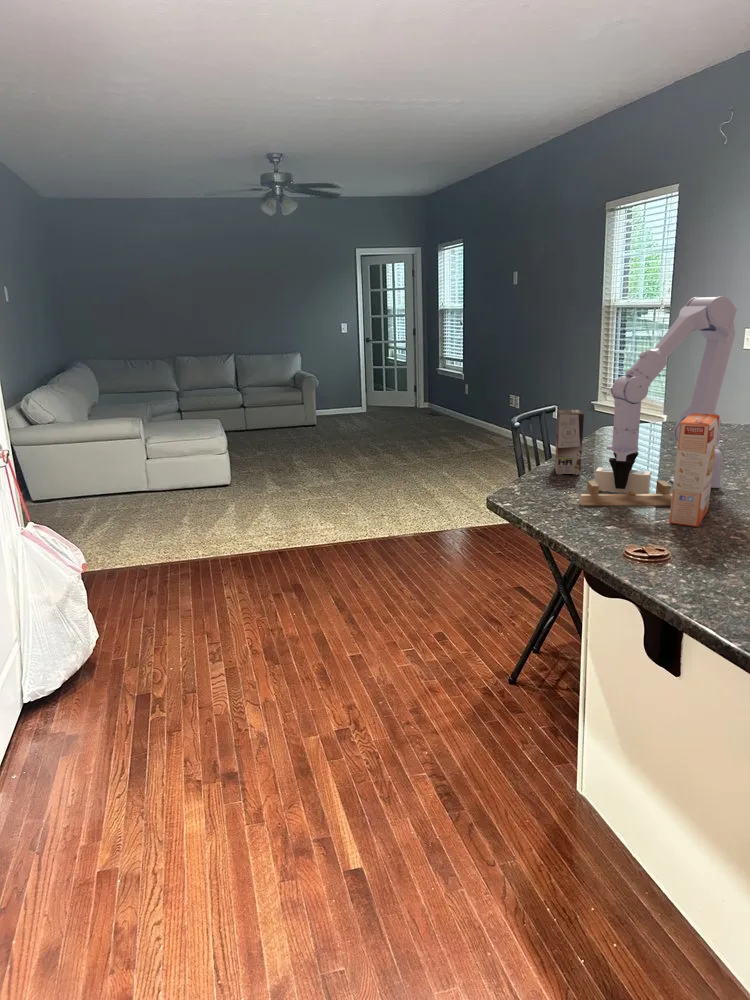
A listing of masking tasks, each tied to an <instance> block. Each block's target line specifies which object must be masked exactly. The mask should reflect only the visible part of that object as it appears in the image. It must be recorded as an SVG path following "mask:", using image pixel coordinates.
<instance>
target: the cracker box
mask: <svg viewBox="0 0 750 1000" xmlns="http://www.w3.org/2000/svg"><path fill="white" fill-rule="evenodd" d="M716 414H717V413H716ZM716 414H699V413H691V414H690V415H689V416H687V417H686V418H685V419H684V420H683V421H681V422H680V427H679V435H678V442H677V447H676V456H675V457H676V458H675V466H674V476H673V478H674V483H673V482H672V484H673V485H672V493H671V494H672V501H671V505H670V513H669V524H674V525H680V526H686V527H687V526H688V527H695V528H699V526H700V524H701V522H702V521H703V519H704V517H705V515H706V514H708V513H707V512H708V511H709V506H710V505H709V503H710V496H711V490H712V488H711V482H712V474H713V465H714V457H715V449H717V447H716V446H717V445H716V441H717V433H718V425H719V418H720V415H719V414H717V415H716Z"/></svg>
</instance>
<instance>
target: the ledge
mask: <svg viewBox="0 0 750 1000" xmlns="http://www.w3.org/2000/svg"><path fill="white" fill-rule="evenodd" d="M586 483H587V485H586V493H580V496H579V504H580V506H671V501H672V493H671V487H672V486H671V485H670V484H669V483H668V482H666V481H665V480H656V486H655V487H656V488H655V493H648V494H636V492H634V491H629V492H628V493H599V492H600V491H599V485H598V484H597V483H596V482H595V480H587V482H586Z"/></svg>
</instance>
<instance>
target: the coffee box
mask: <svg viewBox="0 0 750 1000" xmlns="http://www.w3.org/2000/svg"><path fill="white" fill-rule="evenodd" d="M584 419H585V413H584V412H583V410H582V409H581V408H580V409H579V408H578V409H576V408H575V409H573V408H572V409H557V411H556V433H555V435H556V436H555V456H554V458H555V459H554V469H555V473H556V475H562V474H574V475H573V476H581V468H582V467H581V466H582V452H583V436H584V435H583V434H584V422H585V421H584ZM575 474H576V475H575ZM578 474H579V475H578Z"/></svg>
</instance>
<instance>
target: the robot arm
mask: <svg viewBox="0 0 750 1000" xmlns="http://www.w3.org/2000/svg"><path fill="white" fill-rule="evenodd" d="M737 310H738V309H737V307H736V306H735V305H734V303H733V301H732V300H731V299H730V298H729V297H727V296H725V295H721V296H720V295H719V296H707V297H702V296H695V297H692V298H690V299H689V300H688V301H687V303H686V304H685V305H684V306H683V307H682V308H680V310H679V315H678V317H677V318H676V319H675V321H674V322H672V323H673V324H671V326H670V328H668V330H667V332H666V333H664V335H663V336H662V337H661V339H660V340H659V341H658V343H657V344H656V346H655V347H654V348H650V349H645V351H641V352H640V353H639V355H638V357H639V358H637V360H636V361H635V363H633V365H632V366H631V367H630V368H629V369H626V370H625V375H622V376H619V377H617V378H616V380H614V382H613V385H612V387H610V394H611V396H612V398H613V401H614V402H613V404H614V413H613V426H612V430H613V431H612V441H611V442H612V444H610V445H609V444H608V445H607V446H606V450H609V451H610V450H611V452H613V455H614V457H609V459H608V463H609V465H610V468H612V470H613V474H614V482H615V487H616V488H617V489H625V487H626V485H627V481H628V476H629V473H630V470H633V467H634V464H635V463H636V458H637V457H638V456H639V450H640V449H639V435H640V423H641V411H642V401H643V400H644V399H645V398H647V396H648V393H649V388H650V386H651V384H652V383H653V382H654V381H655V379H656V378H657V377H658V376H659V375H660V373H661V372H662V371H663V370H664V368H665V367H666V366H667V365H668V361H667V359H668V356H670V355H671V353H672V352H674V350H675V349H676V348H677V347H678V346H679V345H680V344H681V343H682V342H683V341H684V340H685V339H686V338H687V337H688V336H689V335H690V334H691V333H692V332H696V331H699V332H700V333H702V334H701V335H702V336H703V337H704V339H705V340H706V344H705V347H704V351H703V355H702V359H701V363H700V367H699V371H698V375H697V378H696V383H695V386H694V391H693V394H692V398H691V402H690V406H689V407H688V408H686V409H685V410H684V411H683V412H682V413H681V415H680V417H679V420H678V422H676V424H675V425H674V426H675V427H674V429H673V438H674V440H675V441H676V442H677V443H678V435H679V427H680V422H681V421H683V420H684V419H685V418H686V417H687V416H689V415H690V414H691V413H699V414H716V415H718V414H717V412H716V407H717V403H718V400H719V396H720V392H721V389H722V386H723V381H724V379H725V374H726V372H727V371H726V370H727V366H728V363H729V359H730V355H731V351H732V347H733V344H734V340H735V337H736V334H735V333H736V332H735V330H736V329H735V321H734V320H735V317H736V313H737ZM721 422H722V421H721V418H720V417H719V425H718V433H717V441H716V446H717V445H718V444H719V442H720V439H721V430H720V426H721ZM722 466H723V456H722V452H721V450H720V449H718V448H716V449H715V457H714V465H713V474H712V482H711V489H720V488H721V477H722ZM669 481H670V482H671V483H672V484H673V483H674V477H671V478H669Z"/></svg>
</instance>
